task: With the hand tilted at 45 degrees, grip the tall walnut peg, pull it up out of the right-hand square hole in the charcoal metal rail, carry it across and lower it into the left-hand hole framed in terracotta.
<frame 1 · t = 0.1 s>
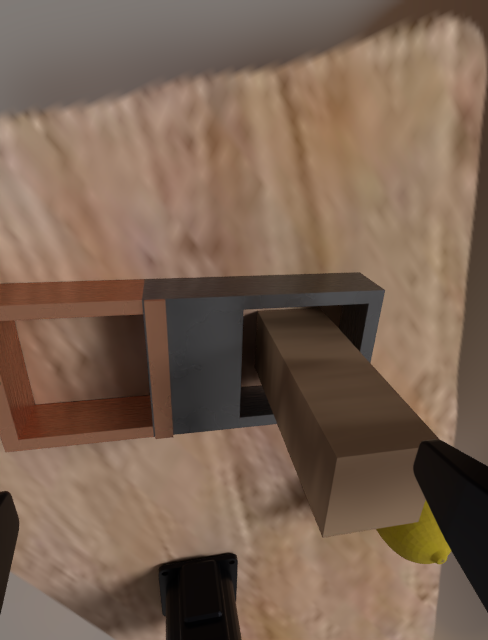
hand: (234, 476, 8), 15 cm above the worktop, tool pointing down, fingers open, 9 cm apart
peg: (286, 338, 25), resting in rail
rail: (192, 344, 23), on the worktop
lemon: (378, 464, 32), on the worktop
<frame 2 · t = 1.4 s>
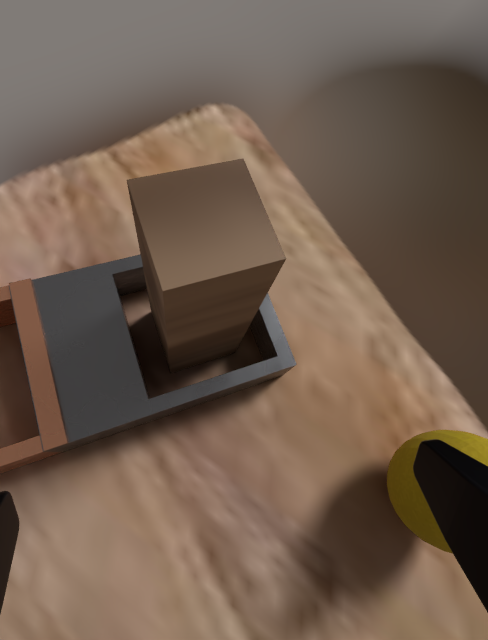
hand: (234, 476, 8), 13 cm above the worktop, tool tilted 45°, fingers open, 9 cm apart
peg: (192, 331, 23), resting in rail
rail: (91, 361, 22), on the worktop
lemon: (405, 483, 23), on the worktop
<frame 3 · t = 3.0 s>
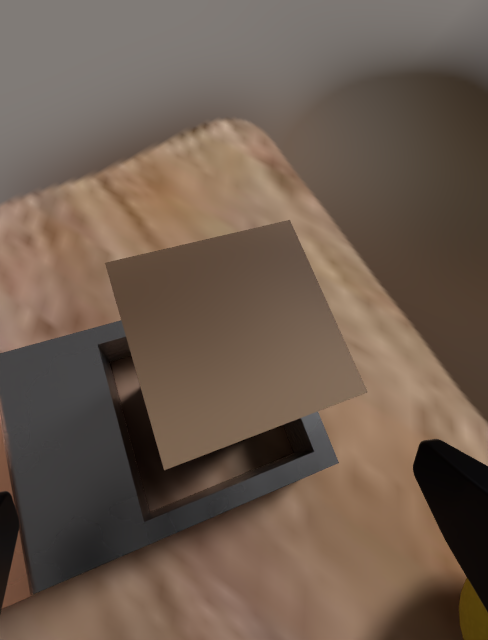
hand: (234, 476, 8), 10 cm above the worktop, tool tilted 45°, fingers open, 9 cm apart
peg: (201, 407, 19), resting in rail
rail: (71, 452, 17), on the worktop
lemon: (473, 604, 18), on the worktop
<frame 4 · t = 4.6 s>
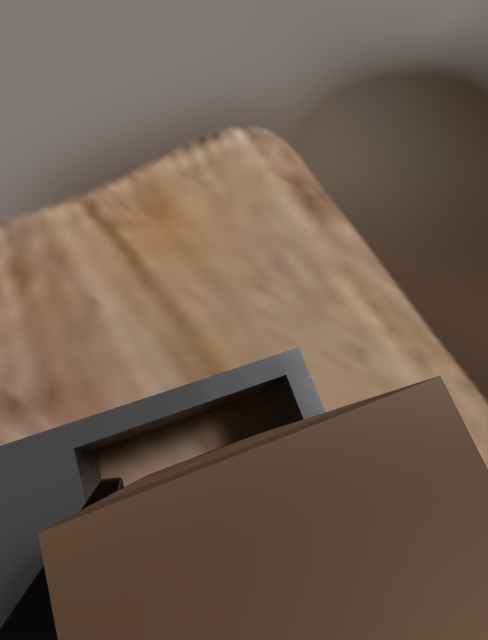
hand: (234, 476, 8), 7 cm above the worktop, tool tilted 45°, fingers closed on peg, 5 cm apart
peg: (214, 510, 14), resting in rail, touching gripper
rail: (41, 584, 13), on the worktop
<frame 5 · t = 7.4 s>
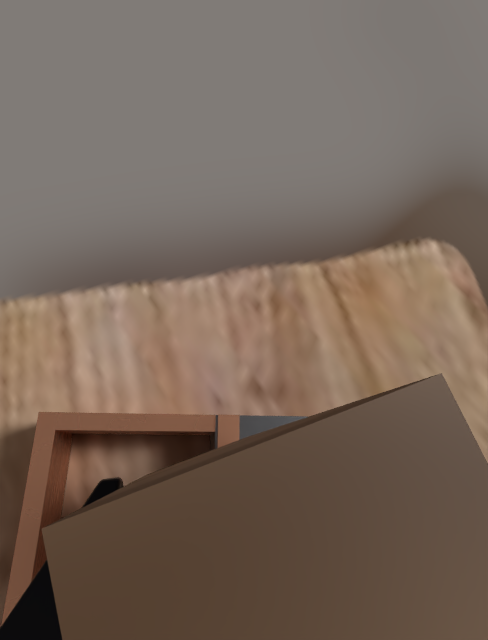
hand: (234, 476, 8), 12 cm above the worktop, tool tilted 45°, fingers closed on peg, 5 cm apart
peg: (215, 509, 14), point 6 cm above the worktop, touching gripper
rail: (256, 506, 20), on the worktop
when the fingers open (7 cm above the worktop, at t = 10.0 s): peg stays where it is, resting in rail.
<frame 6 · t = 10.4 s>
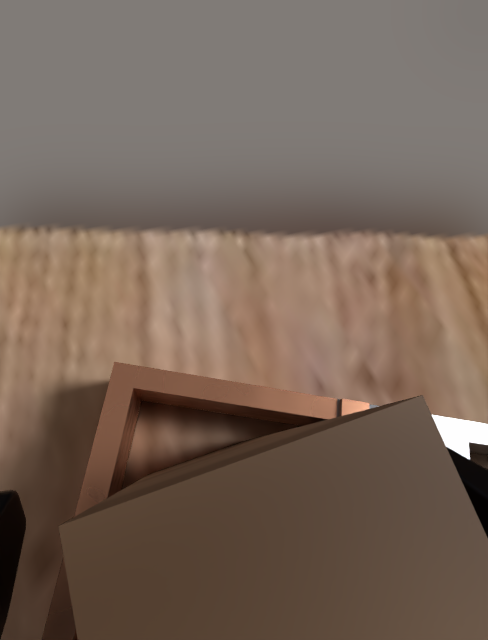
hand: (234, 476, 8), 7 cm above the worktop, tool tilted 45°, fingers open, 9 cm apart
peg: (214, 510, 15), resting in rail
rail: (363, 527, 15), on the worktop
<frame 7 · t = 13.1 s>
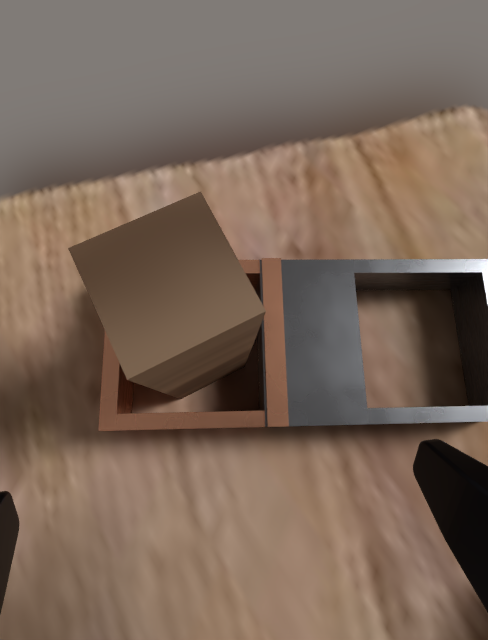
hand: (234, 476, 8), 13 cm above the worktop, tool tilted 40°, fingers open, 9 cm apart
peg: (197, 351, 22), resting in rail
rail: (300, 348, 22), on the worktop
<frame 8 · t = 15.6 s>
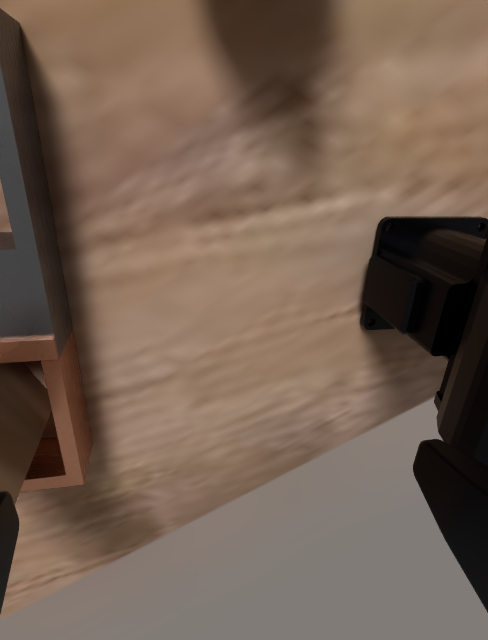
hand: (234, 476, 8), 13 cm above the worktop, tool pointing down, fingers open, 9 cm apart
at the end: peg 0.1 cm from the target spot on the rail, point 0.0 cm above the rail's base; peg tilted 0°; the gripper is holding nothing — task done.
